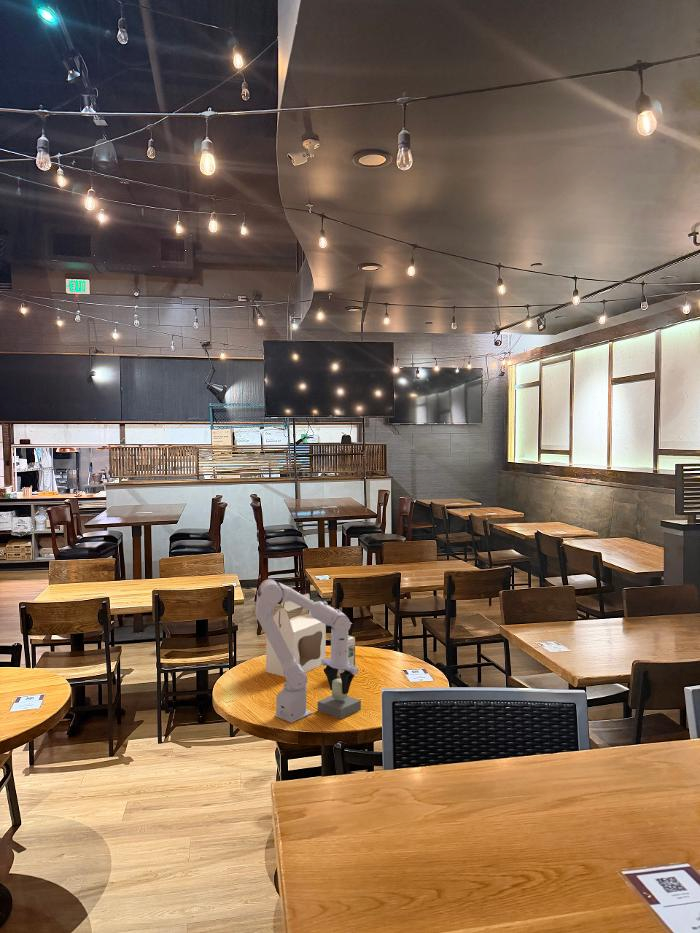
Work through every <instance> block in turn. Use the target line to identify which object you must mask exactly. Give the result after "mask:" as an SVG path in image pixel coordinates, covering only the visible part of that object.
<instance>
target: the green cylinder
mask: <svg viewBox="0 0 700 933" xmlns="http://www.w3.org/2000/svg"><path fill="white" fill-rule="evenodd" d="M331 696H332V698H334V699H345V698H347V696H348V693H347V694H345V695H344V694H343V693H342V681H341V678H337V679H334V680H332V690H331Z"/></svg>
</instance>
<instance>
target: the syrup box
mask: <svg viewBox="0 0 700 933" xmlns="http://www.w3.org/2000/svg"><path fill="white" fill-rule="evenodd" d="M348 661H349V663H350V664H352V665H354V666H355V667H356V638H355V636H352V635H348ZM343 672H344V671H343V670H339V669H338V673H337V677H338V676H339V678H341V677H340V673H343Z"/></svg>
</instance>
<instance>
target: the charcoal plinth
mask: <svg viewBox="0 0 700 933" xmlns="http://www.w3.org/2000/svg"><path fill="white" fill-rule="evenodd" d="M360 710H362V700H360V699H357V698H355V697H353V696H348V695H347V698H345V699H334V698H332V695H330V696H327V697H325V698H322V699H320V700H318V701H317V711H318V712H321V713H323V714H325V713H326V715H329V716H331V717H333V718H337V719H339V720H341V719H344V718H346V717H348V716H350V715H353V714H354V713H356V712H358V711H360Z"/></svg>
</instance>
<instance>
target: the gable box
mask: <svg viewBox="0 0 700 933" xmlns="http://www.w3.org/2000/svg"><path fill="white" fill-rule="evenodd" d="M302 595H303V596H305V597H307V598H308V599H310V593H304V594H302ZM310 600H311V601H313V602H314V600H313V599H310ZM280 605H281V608H279V609H278V610H277V612H276V613H275V614H274V616H272V617H273V619H274V621H275V623H276V624H277V626H278V628H279V630H280V632H281V634H282V636H283V638H284V640H285V642H286V644H287V645H288V647H289V649H290V651H291V653H292V655H293V657H294V659H295V660H296V661H297V662H298V663H299V664H301V666H302V669H303V671H304V672H305V673H306V674H307V673H308V672H309V671H312V670H313V669H316V668H318V667H320V666H322V665H321V659H324V658H326V657H327V656H326V654H327V653H326V650H327V649H326V648H327V646H326V645H327V643H326V641H327V640H326V639H327V638H326V636H327V633H326V631H327V630H326V626H327V625H326V624H324V623H322V622H320V621H318V620H317V619H315V618H313V617H312V616H311V613H310V611H309V610H307V609H305V608H303V607H301V606H299V605H297V604H295V603H293V602H291V601H287V602H280ZM299 608H302V610H301V611H300V612H301V613H300V614H299V615H296V616H293V617H292V618H290V616H289V612H291V611H293V610H296V609H299ZM265 637H266V638H265V643H266V644H265V645H266V646H265V647H266V648H265V653H266V654H265V662H266V663H265V672H266V673H267V672H268V673H267V674H271V673H272V674H273V675H275V674H276V676H281V677H283V678H285V676H284V668H283V666H282V664H281V663H280V661H279V659H278V657H277V655H276V653H275V651H274V649H273V647H272V645H271V644H270V642H269V640H268V638H267V636H266V635H265Z"/></svg>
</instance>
